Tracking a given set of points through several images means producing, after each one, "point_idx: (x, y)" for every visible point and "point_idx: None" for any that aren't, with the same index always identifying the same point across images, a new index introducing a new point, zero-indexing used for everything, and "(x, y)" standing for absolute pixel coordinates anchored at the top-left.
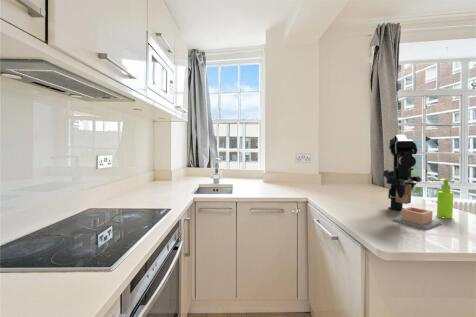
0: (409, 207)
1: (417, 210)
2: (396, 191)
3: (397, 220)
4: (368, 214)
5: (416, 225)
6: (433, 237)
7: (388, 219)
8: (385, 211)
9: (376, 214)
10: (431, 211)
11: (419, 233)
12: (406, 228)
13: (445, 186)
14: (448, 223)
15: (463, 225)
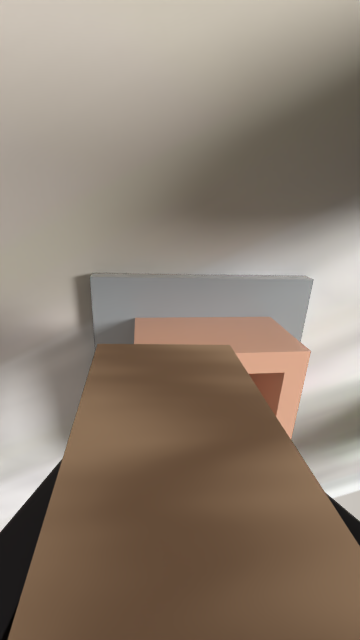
0: (271, 356)
1: (270, 397)
2: (52, 503)
3: (92, 310)
4: (65, 14)
5: None
6: (17, 504)
7: (94, 236)
8: (323, 83)
9: (145, 79)
10: None
11: (6, 459)
12: (17, 395)
13: None
14: (316, 445)
15: (330, 480)
